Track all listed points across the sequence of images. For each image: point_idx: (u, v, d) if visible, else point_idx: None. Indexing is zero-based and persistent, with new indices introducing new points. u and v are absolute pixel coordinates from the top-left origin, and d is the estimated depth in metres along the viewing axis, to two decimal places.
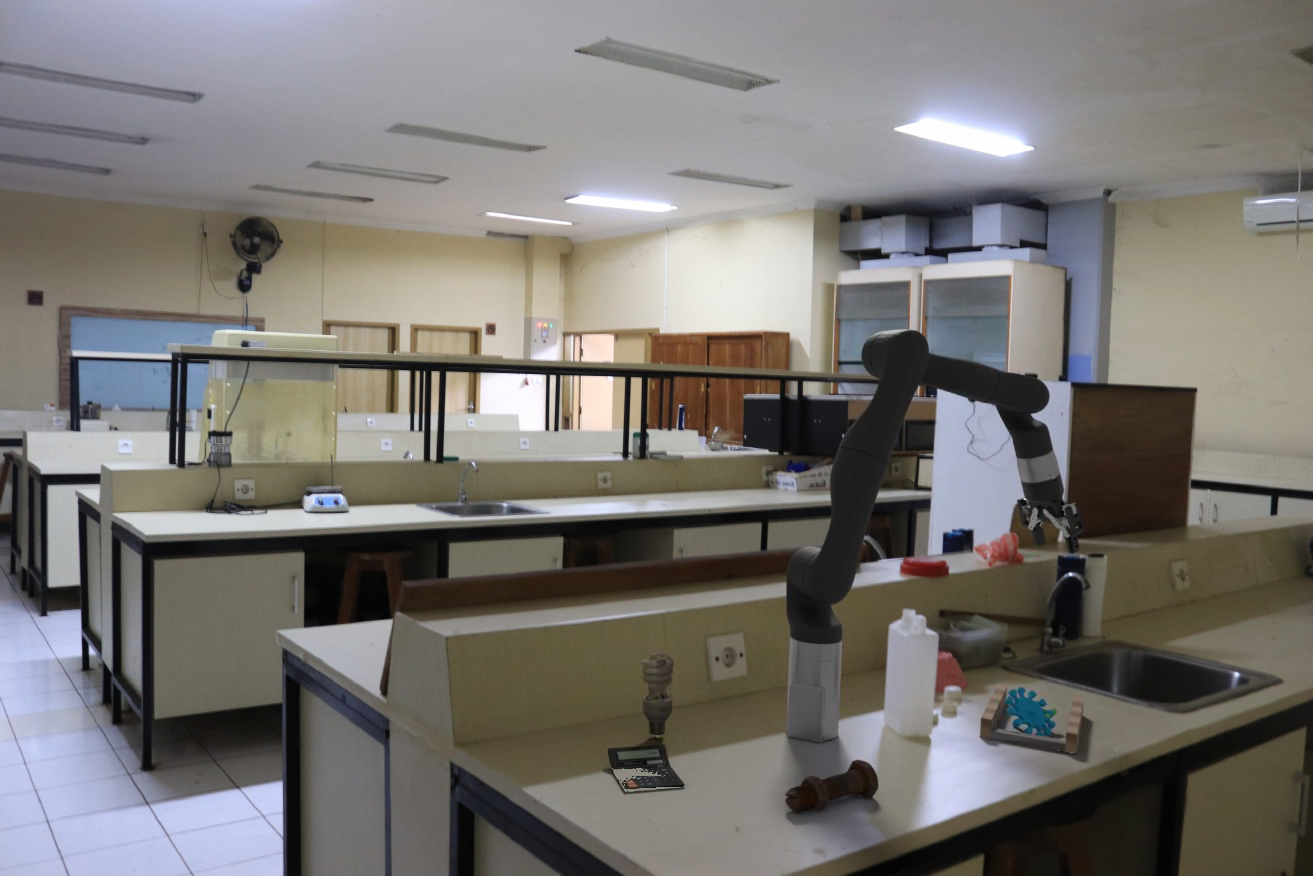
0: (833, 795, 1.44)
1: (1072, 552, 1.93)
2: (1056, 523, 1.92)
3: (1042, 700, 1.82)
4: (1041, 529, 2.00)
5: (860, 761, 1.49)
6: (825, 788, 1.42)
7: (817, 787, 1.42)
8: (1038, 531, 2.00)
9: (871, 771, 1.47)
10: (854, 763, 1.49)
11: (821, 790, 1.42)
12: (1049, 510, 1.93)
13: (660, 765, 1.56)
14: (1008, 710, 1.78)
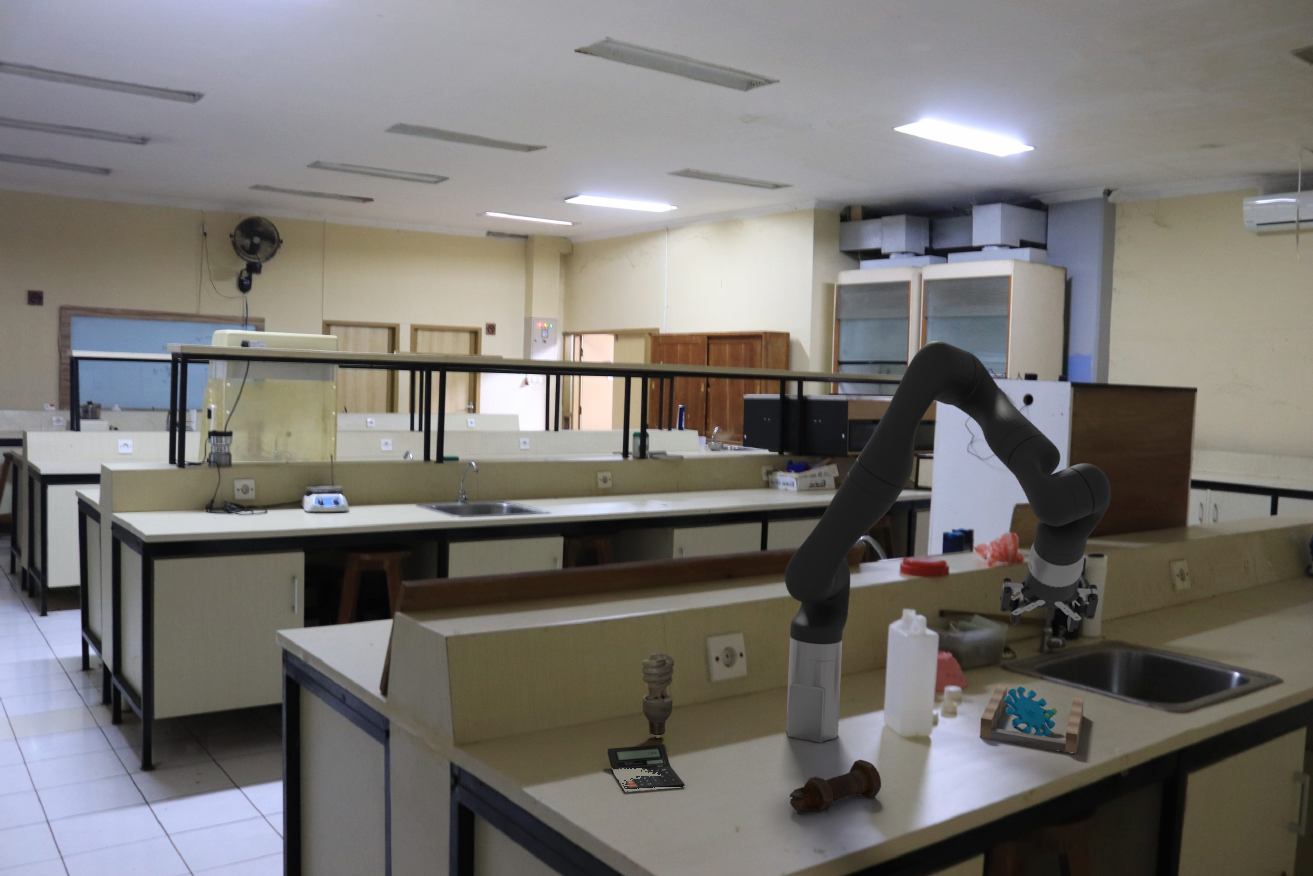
0: (837, 796, 1.44)
1: None
2: None
3: (1042, 700, 1.82)
4: (1070, 618, 1.55)
5: (862, 761, 1.49)
6: (829, 789, 1.42)
7: (822, 788, 1.42)
8: None
9: (874, 771, 1.47)
10: (856, 763, 1.49)
11: (826, 791, 1.42)
12: None
13: (660, 765, 1.56)
14: (1007, 709, 1.78)
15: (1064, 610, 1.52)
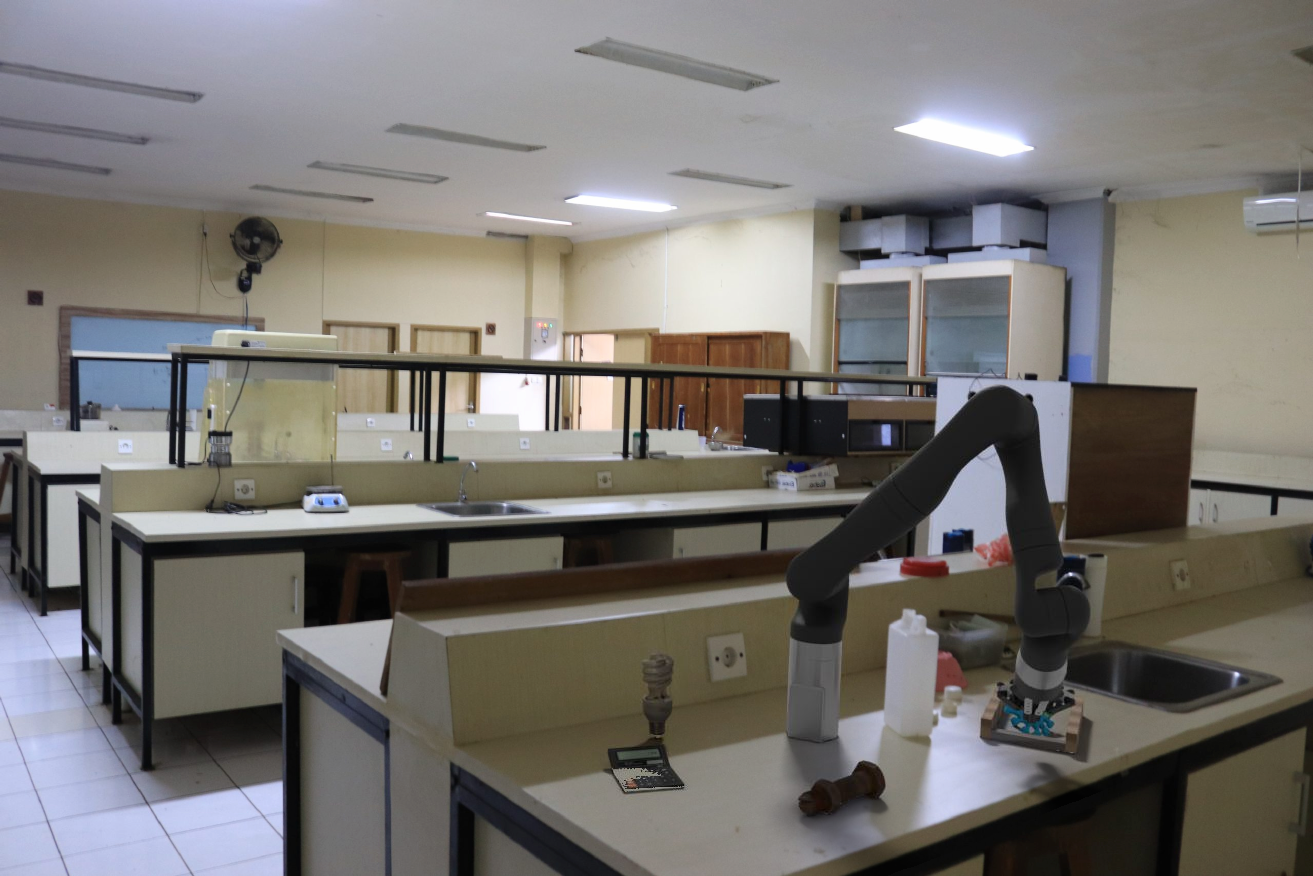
0: (844, 797, 1.43)
1: None
2: None
3: None
4: (1032, 713, 1.68)
5: (866, 762, 1.49)
6: (837, 791, 1.42)
7: (830, 790, 1.41)
8: None
9: (878, 772, 1.47)
10: (860, 764, 1.49)
11: (834, 793, 1.41)
12: None
13: (660, 765, 1.56)
14: (1005, 708, 1.79)
15: (1040, 706, 1.64)
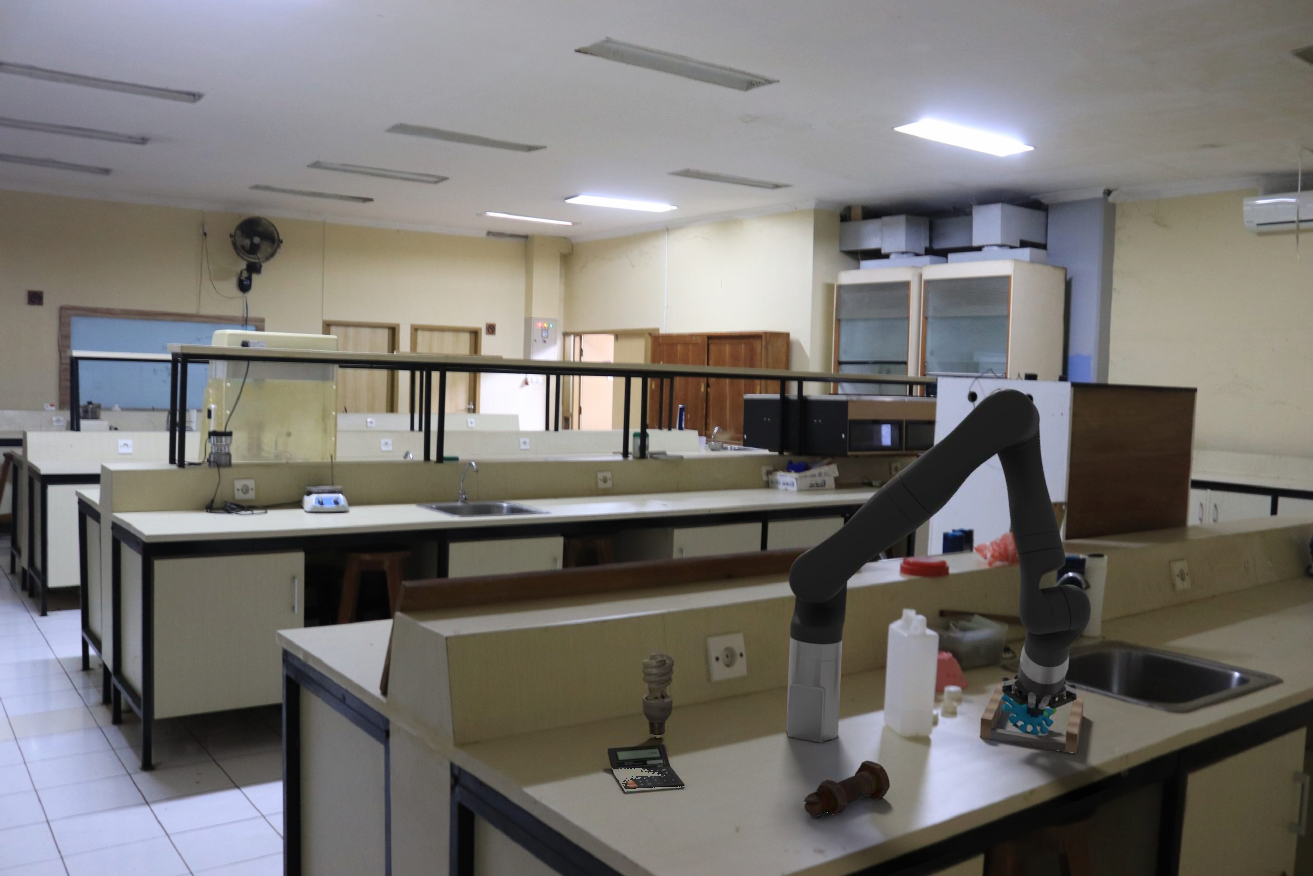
0: (849, 798, 1.43)
1: None
2: None
3: None
4: (1036, 707, 1.76)
5: (869, 762, 1.49)
6: (843, 792, 1.41)
7: (836, 791, 1.41)
8: None
9: (882, 772, 1.47)
10: (864, 764, 1.49)
11: (840, 794, 1.41)
12: None
13: (660, 765, 1.56)
14: (1003, 706, 1.80)
15: (1043, 700, 1.72)
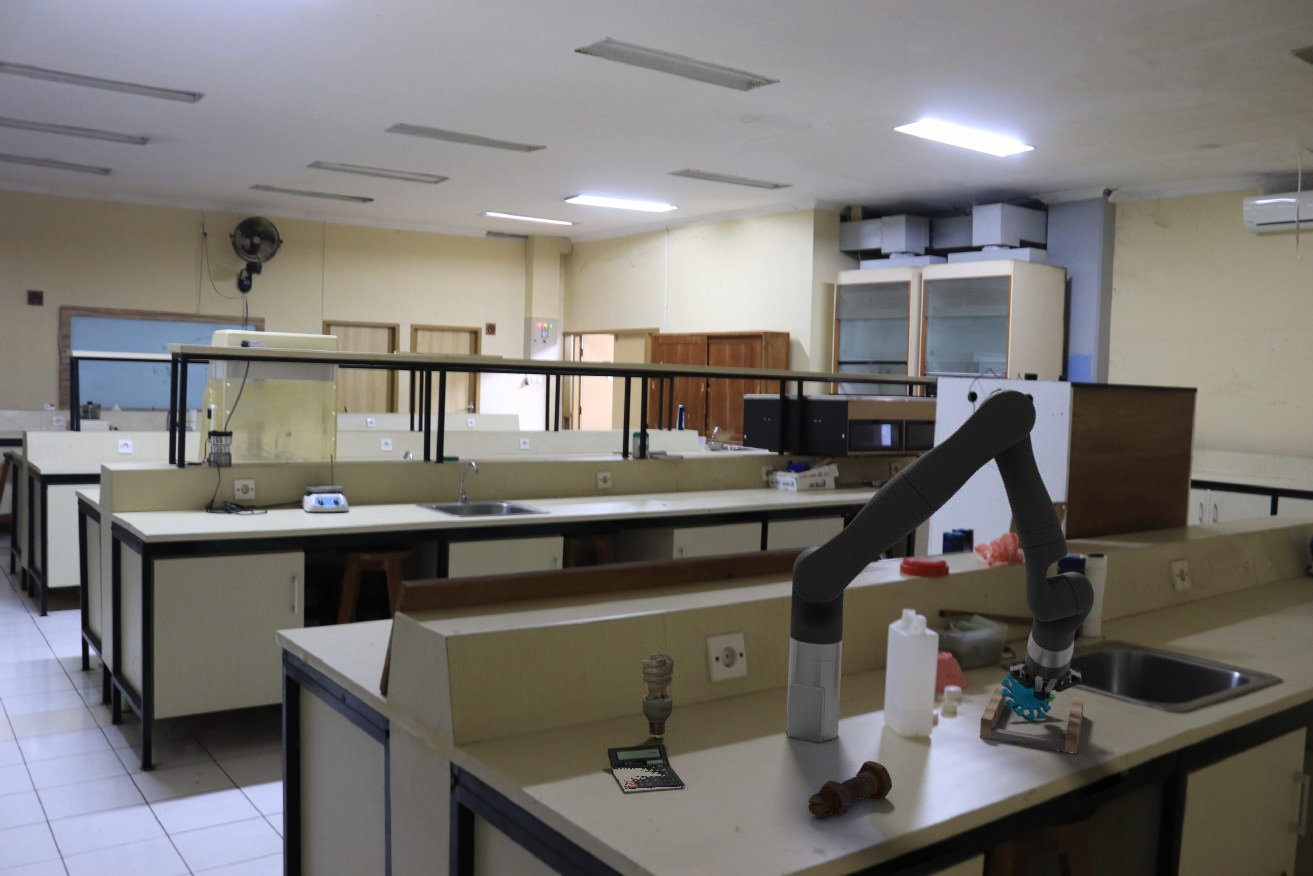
0: (853, 799, 1.43)
1: None
2: None
3: None
4: (1042, 691, 1.86)
5: (871, 762, 1.49)
6: (847, 792, 1.41)
7: (840, 792, 1.41)
8: None
9: (884, 772, 1.47)
10: (866, 765, 1.49)
11: (843, 795, 1.41)
12: None
13: (660, 765, 1.56)
14: (1002, 691, 1.89)
15: (1049, 684, 1.82)
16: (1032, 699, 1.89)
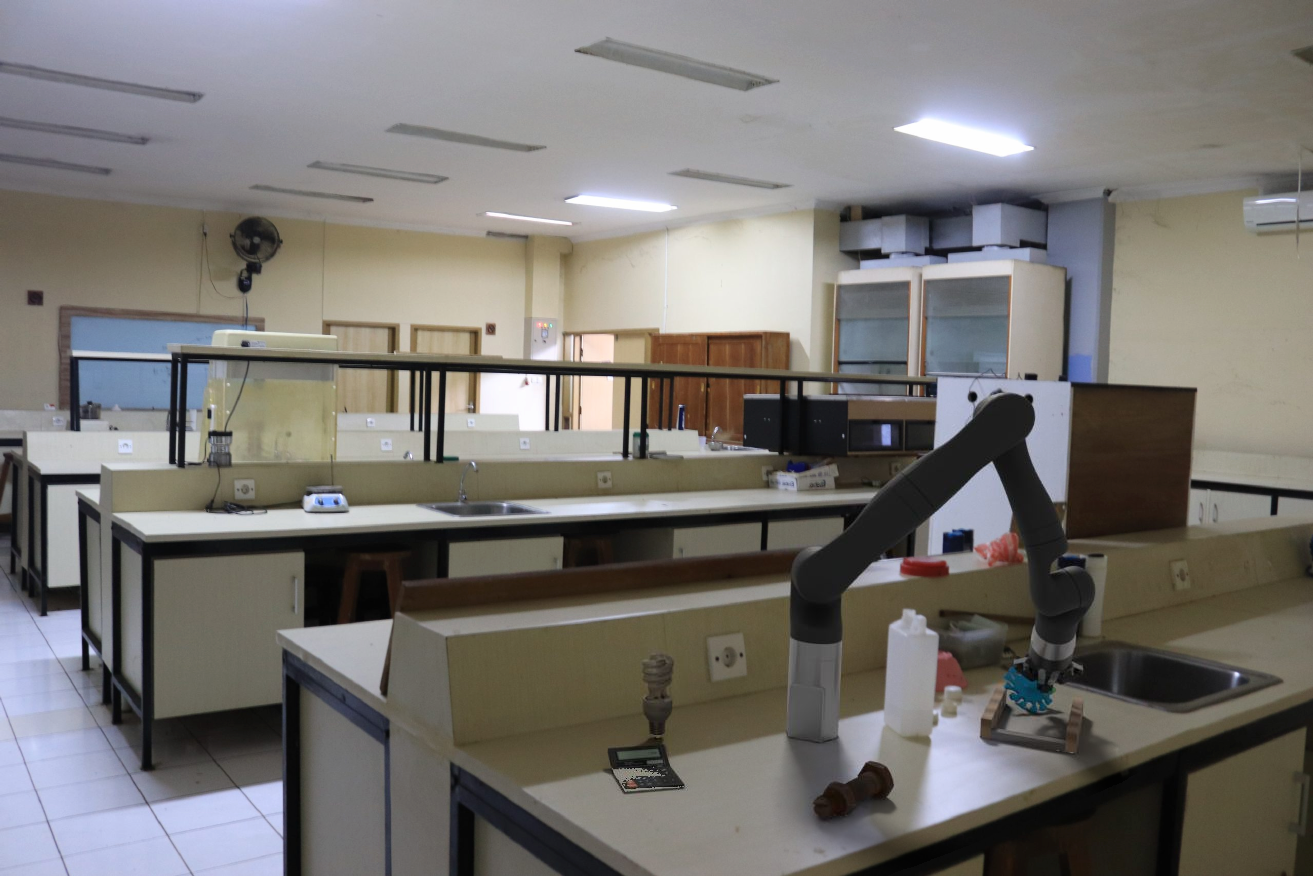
0: (856, 799, 1.43)
1: None
2: None
3: None
4: (1045, 683, 1.91)
5: (873, 762, 1.49)
6: (851, 793, 1.41)
7: (844, 793, 1.40)
8: None
9: (886, 772, 1.47)
10: (867, 765, 1.49)
11: (848, 795, 1.40)
12: None
13: (660, 765, 1.56)
14: (1005, 684, 1.94)
15: (1052, 676, 1.87)
16: (1034, 692, 1.94)
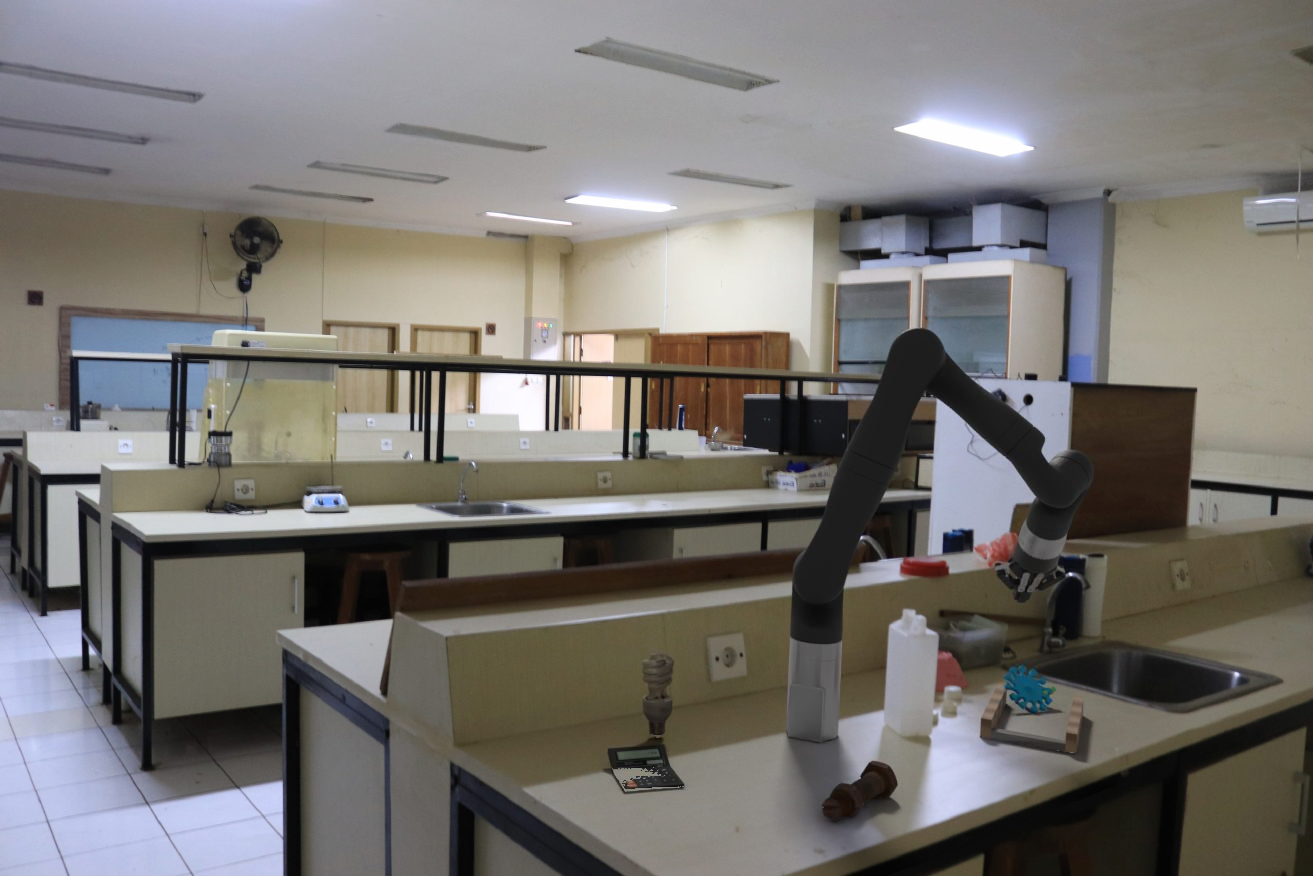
0: (863, 800, 1.42)
1: None
2: None
3: (1042, 678, 1.97)
4: None
5: (876, 762, 1.49)
6: (859, 794, 1.41)
7: (853, 794, 1.40)
8: None
9: (890, 771, 1.47)
10: (871, 765, 1.49)
11: (856, 796, 1.40)
12: None
13: (660, 765, 1.56)
14: (1005, 685, 1.94)
15: (1034, 581, 1.79)
16: (1034, 692, 1.94)
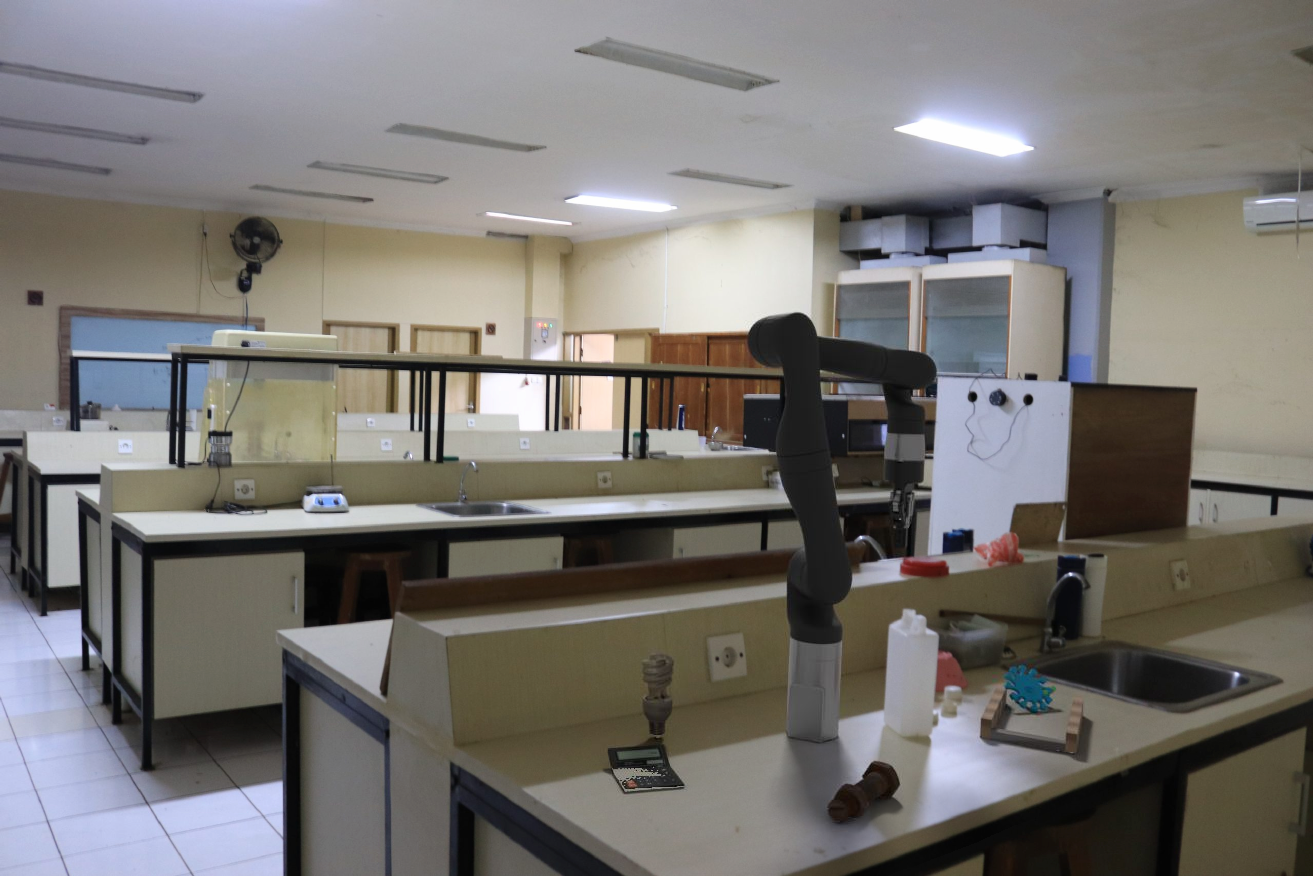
0: (867, 800, 1.42)
1: (895, 545, 1.87)
2: None
3: (1042, 678, 1.97)
4: None
5: (878, 762, 1.49)
6: (864, 794, 1.41)
7: (858, 795, 1.40)
8: None
9: (892, 771, 1.48)
10: (873, 765, 1.49)
11: (861, 797, 1.40)
12: (893, 496, 1.86)
13: (660, 765, 1.56)
14: (1005, 684, 1.94)
15: (911, 507, 1.87)
16: (1034, 691, 1.94)
